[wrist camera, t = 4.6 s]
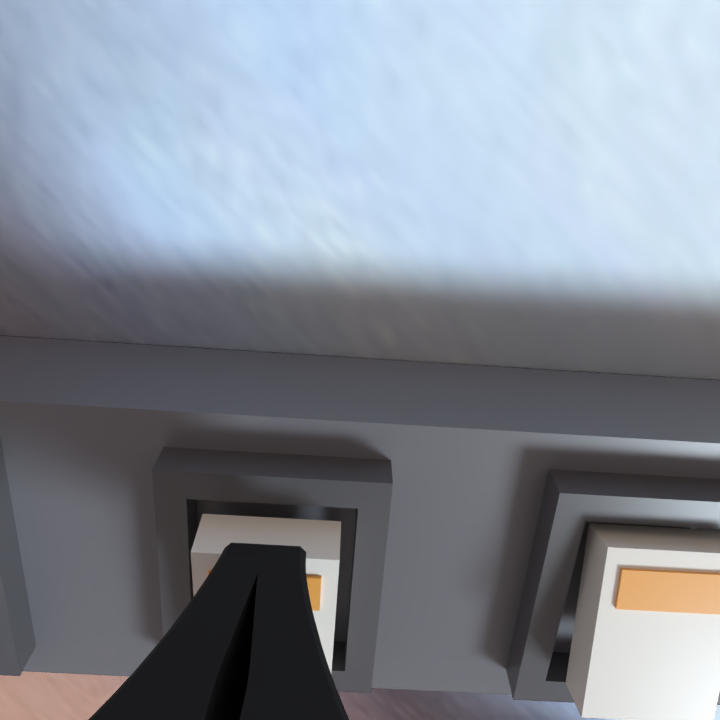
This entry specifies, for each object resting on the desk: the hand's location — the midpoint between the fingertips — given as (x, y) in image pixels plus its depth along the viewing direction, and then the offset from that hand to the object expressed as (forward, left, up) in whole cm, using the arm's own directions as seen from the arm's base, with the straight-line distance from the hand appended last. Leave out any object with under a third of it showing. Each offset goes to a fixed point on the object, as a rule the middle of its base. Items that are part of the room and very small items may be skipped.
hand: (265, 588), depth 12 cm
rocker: (+7, -1, -1) cm, 8 cm away
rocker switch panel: (+3, -1, -5) cm, 6 cm away
